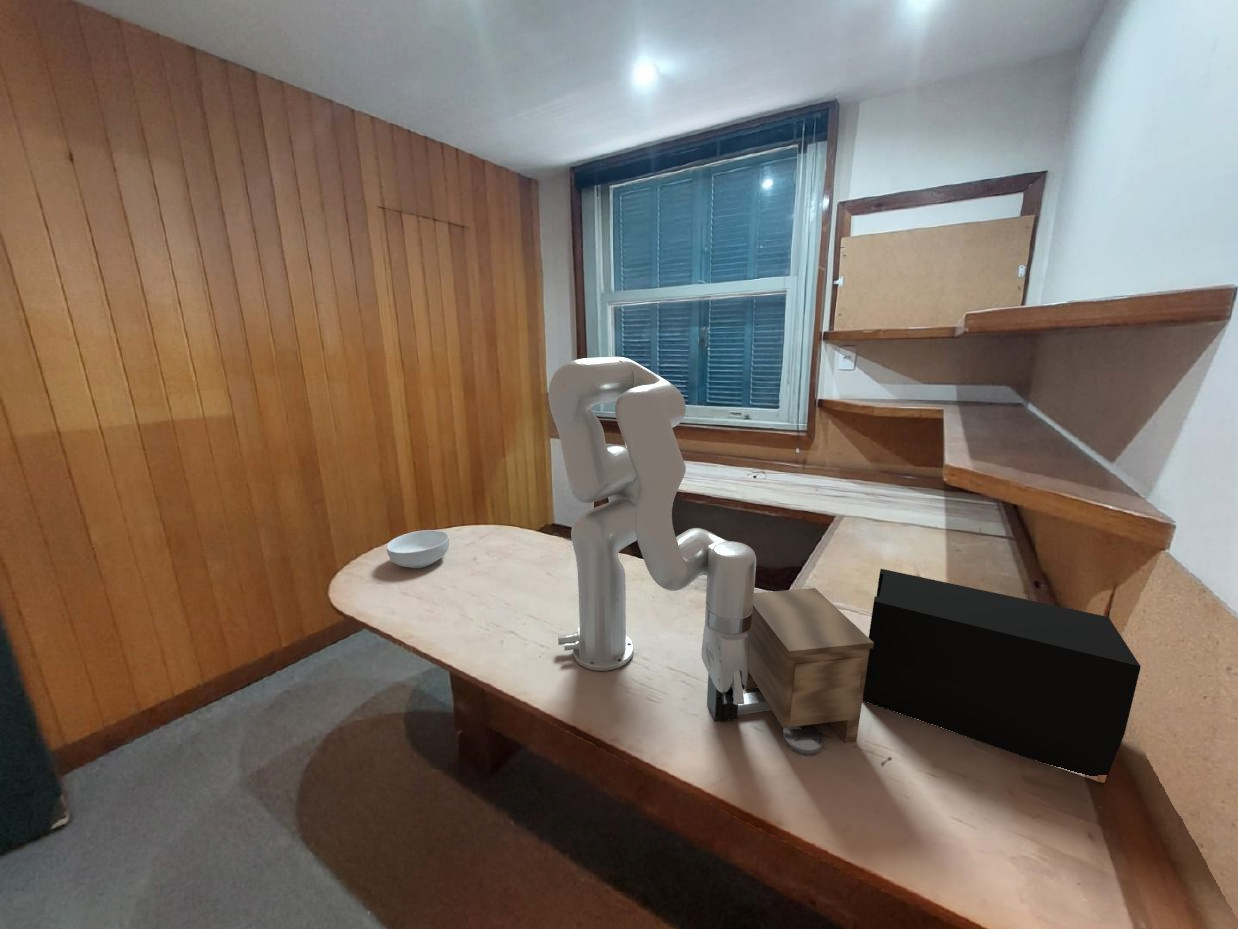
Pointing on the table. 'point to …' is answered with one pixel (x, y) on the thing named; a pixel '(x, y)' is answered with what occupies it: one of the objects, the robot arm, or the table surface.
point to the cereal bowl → (418, 548)
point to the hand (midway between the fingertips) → (722, 708)
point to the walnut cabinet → (807, 660)
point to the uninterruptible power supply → (1002, 670)
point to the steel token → (803, 739)
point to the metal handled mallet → (751, 704)
